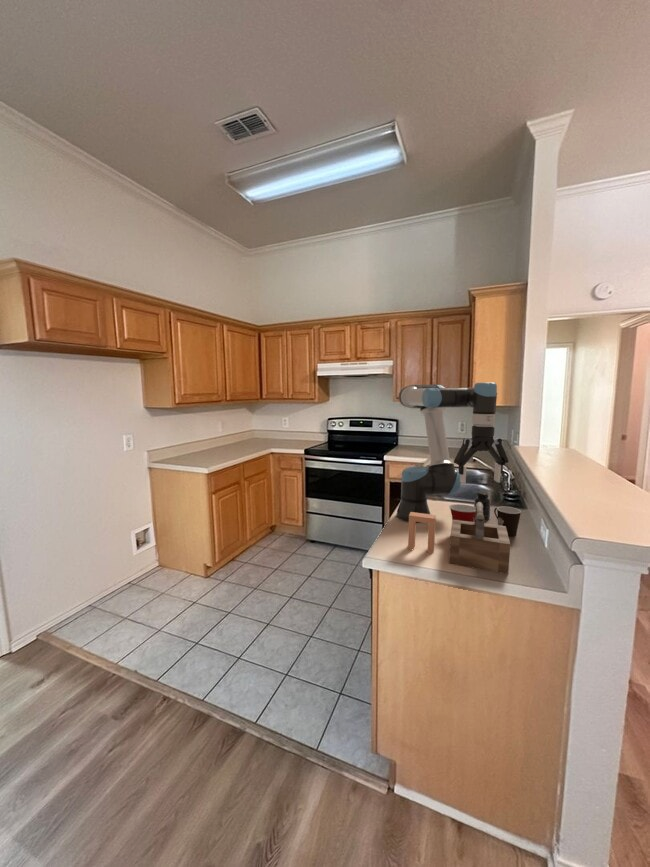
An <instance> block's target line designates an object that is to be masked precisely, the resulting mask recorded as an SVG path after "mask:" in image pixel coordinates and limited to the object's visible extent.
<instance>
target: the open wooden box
mask: <svg viewBox="0 0 650 867" xmlns="http://www.w3.org/2000/svg"><path fill="white" fill-rule="evenodd" d="M450 528H451V529H450V534H449V537H450V538H449V556H448V559H449V560H448V564H449V565H454V566H461V567H466V568H472V569H476V568H477V569H478V570H484V571H489V572H493V573H494V572H495V573H500V572H502V573H501V574H506V573H508V574H509V571H510V570H509V569H510V554H511V553H510V552H511V541H510V537H508V533H507V529H506V526H500V525H498V524H491V523H485V520H484V516H483V505H482V503H481V502H478V503H477V504H476V511H475V517H474V522H468V521H460V520H452V522H451V527H450ZM477 569H476V570H477Z"/></svg>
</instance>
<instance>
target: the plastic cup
mask: <svg viewBox="0 0 650 867" xmlns="http://www.w3.org/2000/svg"><path fill="white" fill-rule="evenodd" d="M448 507H449V509H450V515H451V519H452V520H460V521H468V522H475V511H476V507H474V505H469V504H460V503H459V504H456V503H455V504H450V505H449V506H448Z"/></svg>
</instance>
